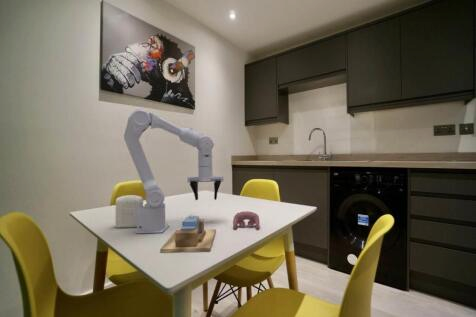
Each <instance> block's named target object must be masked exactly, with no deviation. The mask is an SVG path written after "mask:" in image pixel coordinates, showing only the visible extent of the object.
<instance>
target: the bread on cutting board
mask: <svg viewBox="0 0 476 317" xmlns="http://www.w3.org/2000/svg"><path fill="white" fill-rule="evenodd" d="M199 219H200V222H199V236H198V229H195V230H186V231H181V229H177V230H175V231H174V232H173V234H172V235H170V237H169V238H168V239H167V241H166V242H165V243H164V244H163V245H162V246H161V248H160V249H159V252H160V253H163V254H164V253H165V254H166V253H193V252H194V253H202V252H204V253H205V252H208V253H209V252H211V250H212V247H213V243H214V239H215V238H216V233H217V229H216V228H215V229H214V228H212V229H211V228H210V229H205V219H204V218H199Z"/></svg>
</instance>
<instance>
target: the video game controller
mask: <svg viewBox="0 0 476 317" xmlns="http://www.w3.org/2000/svg"><path fill="white" fill-rule="evenodd" d="M245 220H248V221H247V226H248V227H249V228H253V226H255V228H256V230H259V229H260V217H259V215H258V214H257V213H256V212H253V211H241V212H237V213H236V214H235V215H234V216H233V221H232V228H233V230H236V229H237V227H238V225H239V227H240V228H244V227H245V226H246V222H245Z"/></svg>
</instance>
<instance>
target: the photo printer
mask: <svg viewBox="0 0 476 317" xmlns="http://www.w3.org/2000/svg"><path fill="white" fill-rule="evenodd" d="M142 206H144V198H143V197H142V196H141V195H135V194H130V195H122V196H119V197H117V198H116V200H115V228H137V211H138V209H139V208H140V207H142Z"/></svg>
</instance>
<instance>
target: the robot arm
mask: <svg viewBox="0 0 476 317" xmlns="http://www.w3.org/2000/svg"><path fill="white" fill-rule="evenodd" d="M149 128H150V129H151V130H152V129H160V130H163V131H165V132H168V133H170V134H173V135H175V136H177V137H179V141H181V142H183V143H185V144H187V145H189V146H192V147H193V148H196V149H197V153H198V154H197V162H198V164H197V166H198V167H197V170H198V171H197V172H198V174H197V175H198V176H190V177H189V176H188V177H187V183H189V187H191V190H192V192H193V195H194V199H195V201H198V200H199V192H198V191H199V189H198V188H199V183H205V182H206V183H208V182H209V183H210V182H213V186H214V187H213V188H214V189H213V191H214V194H213V195H214V196H213V199H214V200H216V201H217V198H218V193H219V189H220V186H221V183H222V182H224V175H223V176H213V174H214V173H213V151H212V150H213V148H214V147H215V143H214V142H213V139H212V138H211V137H208V136H204V134H203V133H199V132H196V131H194V129H193V128H192V127H189V128H188V127H185V128H181V127H180V126H177V125H175V124H174V123H172V122H170V121H168V120H166V119H164V118H163V117H161V116H159V115H157V114H155V113H153V112H148V111H147V110H145V109H135V110H134V111H133V112H132V113H131V114H130V115H129V117H128V119H127V123H126V127H125V130H124V133H123V139H124V142H125V144H126V147H127V149H128V151H129V155H130V156H131V159H132V162H133V164H134V166H135V168H136V172H137V174H138V176H139V179H140V181H141V183H142V187H143V189H144V192H145V202H146V203H145V204H144V205H143V206H142V207H140V208H139V209H138V211H137V227H136V232H135V233H136V234H158V233H159V234H160V233H161V234H162V233H163V232H165V231H166V230H167V229H168V228H169V227H170V224H166V203H165V199H166V198H165V193H164V192H163V190H162V189H161V188H160V187H159V186H158V183H157V182H156V179H155V177H154V175H153V171H152V169H151V166H150V164H149V161H148V159H147V156H146V154H145V152H144V149H143V146H142V144H141V142H140V138H141V137H142V135H143V133H144V132H145V131H146V130H148V129H149Z"/></svg>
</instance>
